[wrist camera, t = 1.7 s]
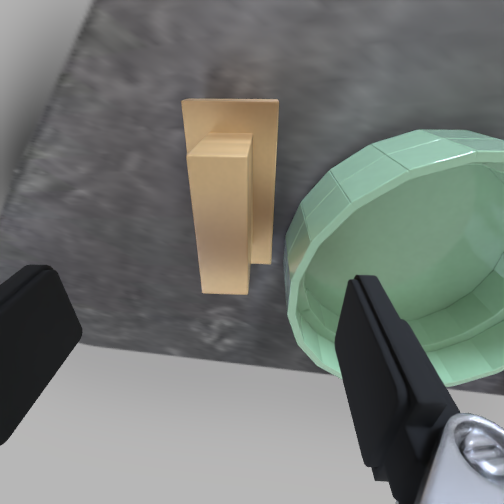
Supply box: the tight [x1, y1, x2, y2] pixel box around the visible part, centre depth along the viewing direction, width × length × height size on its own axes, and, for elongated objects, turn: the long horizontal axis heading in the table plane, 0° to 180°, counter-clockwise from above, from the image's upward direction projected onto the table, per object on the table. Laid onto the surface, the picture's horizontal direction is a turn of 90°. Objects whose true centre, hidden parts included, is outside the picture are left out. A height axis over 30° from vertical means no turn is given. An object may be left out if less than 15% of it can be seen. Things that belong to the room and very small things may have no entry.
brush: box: [181, 99, 279, 295], centre depth 16 cm, size 10×5×8 cm, turn 0°
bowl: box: [283, 129, 504, 387], centre depth 19 cm, size 17×17×6 cm
